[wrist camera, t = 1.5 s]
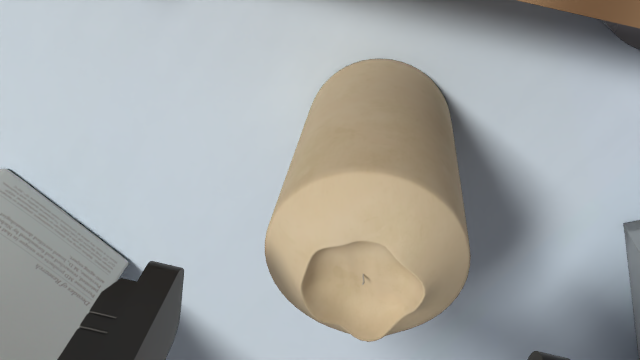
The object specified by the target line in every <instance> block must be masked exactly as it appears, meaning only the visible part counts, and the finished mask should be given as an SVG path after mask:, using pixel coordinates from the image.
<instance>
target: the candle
mask: <svg viewBox="0 0 640 360" xmlns="http://www.w3.org/2000/svg"><path fill="white" fill-rule="evenodd" d="M265 256H266V262H267V266H268V269H269V272H270V274H271V276H272V278H273V280H274V282H275V284H276V285H277V287H278V288H279V290H280V291H281V292H282V294H283V295H284V296H285V297H286V298H287V299H288V300H289V301H290V302H291V303H292V304H293V305H294V306H295V307H296V308H298V309H299V310H300V311H302V312H303V313H305V314H306V315H307V316H309V317H311V318H312V319H314V320H316V321H318V322H319V323H322V324H324V325H326V326H328V327H331V328H334V329H337V330H339V331H342V332H346V333H349V334H351V335H352V336H354V337H355V338H357V339H359V340H362V341H367V342H369V341H376V340H378V339H381V338H383V337H384V336H386V335H390V334H393V333H397V332H400V331H404V330H408V329H411V328H413V327H416V326H419V325H421V324H423V323H425V322H427V321H429V320H431V319H433V318H434V317H436V316H437V315H439V314H440V313H442V312H443V311H444V310H445V309H446V308H447V307H448V306H450V305H451V303H452V302H453V301H454V300H455V299H456V298H457V296H458V295H459V293H460V291H461V290H462V288H463V286H464V284H465V282H466V279H467V276H468V272H469V268H470V246H469V238H468V231H467V225H466V218H465V211H464V204H463V197H462V190H461V183H460V176H459V169H458V163H457V156H456V149H455V142H454V135H453V128H452V122H451V117H450V112H449V109H448V105H447V103H446V101H445V98H444V96H443V95H442V93H441V92H440V90H439V88H438V87H437V86H436V85H435V83H434V82H433V81H432V80H431V79H430V78H429V77H428V76H427V75H426V74H424V73H423V72H421V71H420V70H418V69H417V68H415V67H413V66H411V65H408V64H406V63H403V62H400V61H395V60H390V59H369V60H363V61H360V62H356V63H353V64H351V65H349V66H346V67H344V68H343V69H341V70H339V71H338V72H337V73H335V74H334V75H333V76H332V77H330V79H329V80H328V81H327V82H326V83H325V84H324V85H323V86H322V87H321V89H320V90H319V92H318V93H317V95H316V97H315V99H314V101H313V103H312V106H311V108H310V111H309V113H308V116H307V119H306V122H305V125H304V128H303V130H302V133H301V136H300V139H299V142H298V144H297V147H296V150H295V153H294V156H293V158H292V161H291V164H290V167H289V170H288V172H287V175H286V178H285V181H284V184H283V186H282V189H281V192H280V195H279V198H278V200H277V203H276V206H275V209H274V212H273V214H272V217H271V220H270V223H269V226H268V229H267V233H266V238H265Z"/></svg>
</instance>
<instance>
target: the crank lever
mask: <svg viewBox="0 0 640 360" xmlns="http://www.w3.org/2000/svg"><path fill="white" fill-rule="evenodd" d="M518 1H522V2H527V3H531V4H535V5H540V6H544V7H548V8H553V9H557V10H561V11H566V12H570V13H575V14H579V15H583V16H588V17H592V18H596V19H601V20H605V21H609V22H614V23H618V24H623V25H627V26H631V27H636V28H640V0H518Z"/></svg>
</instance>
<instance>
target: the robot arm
mask: <svg viewBox="0 0 640 360" xmlns="http://www.w3.org/2000/svg"><path fill="white" fill-rule="evenodd" d="M183 279H184V269H183V268H180V267H176V266H172V265H167V264H163V263H159V262H154V261H150V262H149V263H148V264H147V266H146V268H145V269H144V271H143V273H142V274H141V276H140V278H139V280H138V281H137V282H135V281H131V280H127V279H122V278H120V279H119V280H118V281H116V282H115V283H113V284H112V285H111V286H109V287H108V288H106V289H105V290H103V291H102V292H101V293H100V295H99V296H98V298H97V299H96V301H95V303H94V304H93V306H92V307H91V309H90V311H89V314H87V315H86V316H85V318H84V319H83V321H82V322H81V324H80V327H79V329H77V330H76V332H75V333H74V335H73V336H72V338H71V339H70V341H69V342H68V344H67V345H66V347H65V348H64V350H63V352H62V353H61V355H60V356H59V358H58V359H57V360H165V359H166V357H167V355H168V352H169V350H170V348H171V346H172V343H173V341H174V338H175V335H176V332H177V329H178V325H179V320H180V312H181V301H182V290H183ZM528 360H570V359H568V358H564V357H560V356H556V355H551V354H547V353H543V352H538V351H534V352H532V353H531V355H530V356H529V358H528Z"/></svg>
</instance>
